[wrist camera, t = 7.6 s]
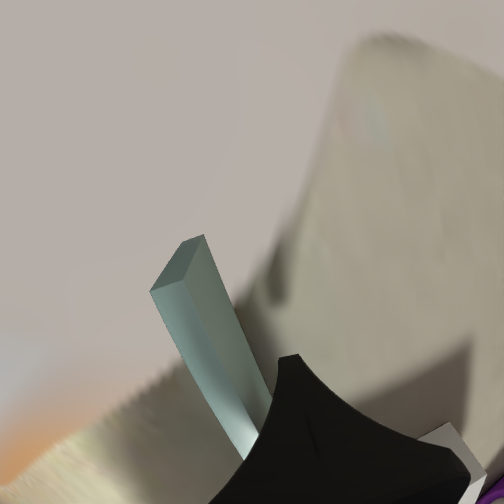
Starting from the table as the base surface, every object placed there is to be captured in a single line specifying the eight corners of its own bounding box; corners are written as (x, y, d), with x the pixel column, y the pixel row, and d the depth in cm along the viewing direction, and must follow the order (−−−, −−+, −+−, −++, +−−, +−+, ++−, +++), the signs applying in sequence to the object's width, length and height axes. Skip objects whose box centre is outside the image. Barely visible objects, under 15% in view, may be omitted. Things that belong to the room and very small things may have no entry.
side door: (311, 481, 15) (327, 545, 10) (293, 486, 15) (305, 551, 10) (204, 233, 11) (184, 280, 6) (174, 244, 11) (136, 297, 6)
